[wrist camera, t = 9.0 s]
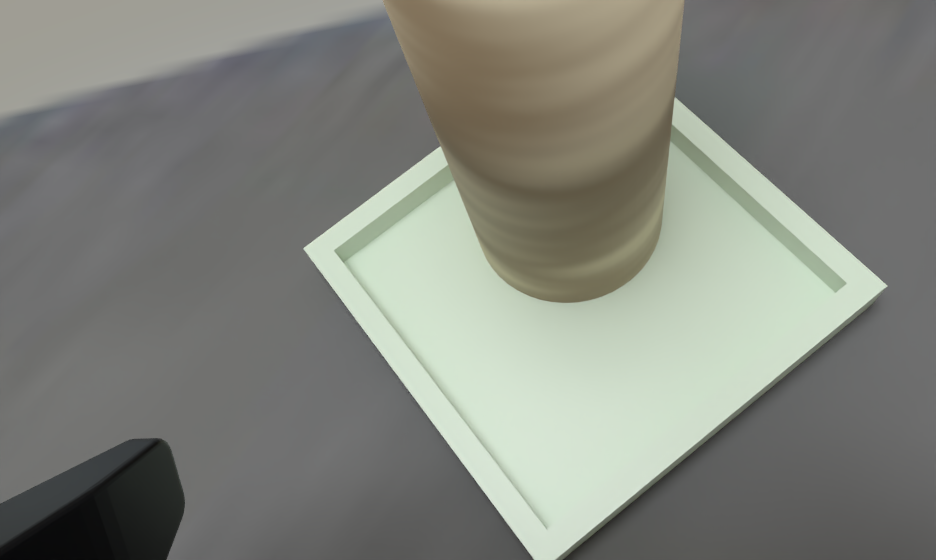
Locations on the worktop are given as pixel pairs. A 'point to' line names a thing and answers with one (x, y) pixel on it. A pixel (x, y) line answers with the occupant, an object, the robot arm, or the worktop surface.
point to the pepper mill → (552, 129)
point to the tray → (594, 333)
